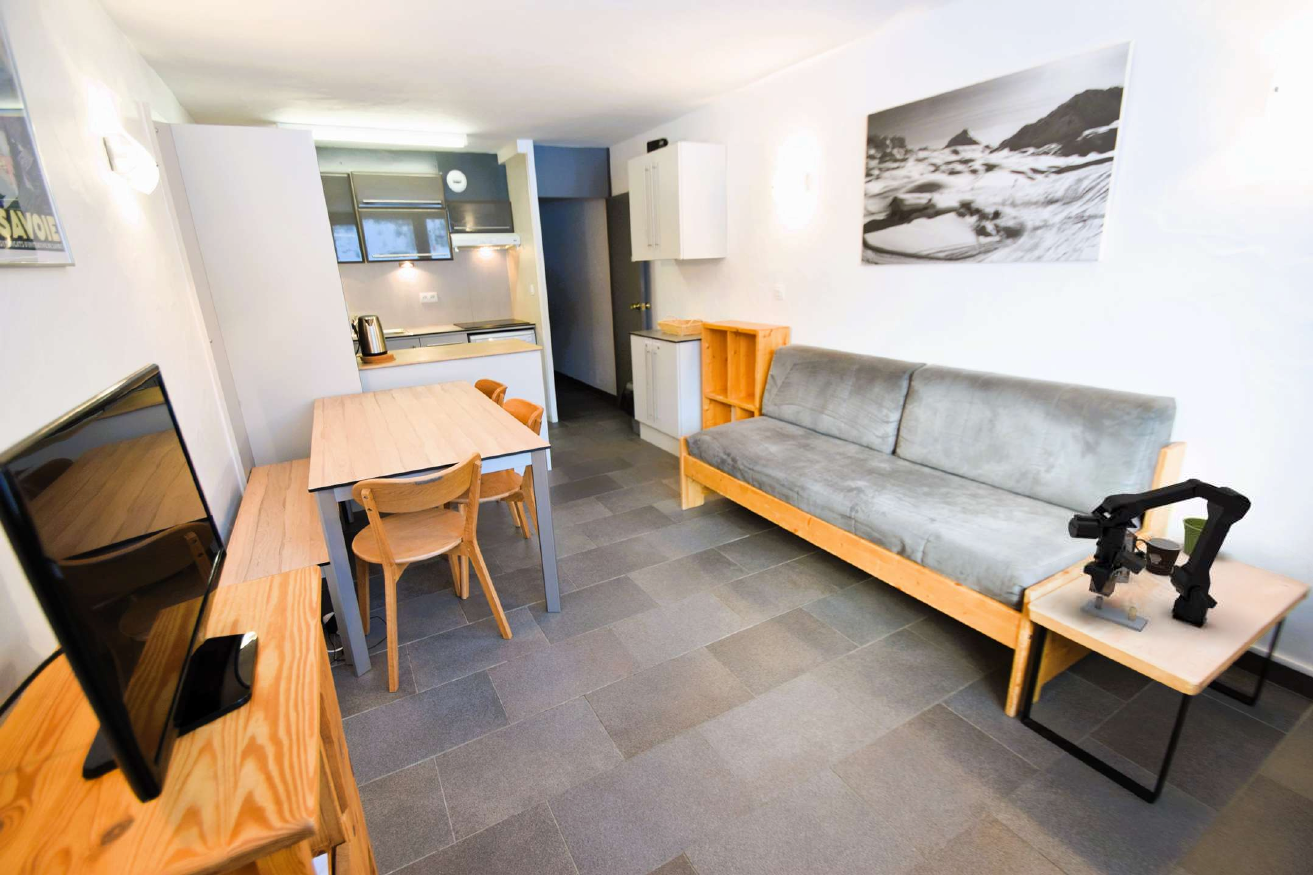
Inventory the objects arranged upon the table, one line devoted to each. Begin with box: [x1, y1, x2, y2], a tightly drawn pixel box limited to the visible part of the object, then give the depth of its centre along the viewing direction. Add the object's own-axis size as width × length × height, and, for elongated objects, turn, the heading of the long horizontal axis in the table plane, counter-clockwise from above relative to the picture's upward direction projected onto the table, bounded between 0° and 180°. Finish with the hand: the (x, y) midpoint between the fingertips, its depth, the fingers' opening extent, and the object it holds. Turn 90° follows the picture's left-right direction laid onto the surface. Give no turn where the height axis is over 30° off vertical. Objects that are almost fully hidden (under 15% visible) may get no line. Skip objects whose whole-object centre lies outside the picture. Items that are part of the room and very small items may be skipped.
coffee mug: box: [1135, 537, 1183, 577], centre depth 191 cm, size 12×9×10 cm
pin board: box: [1080, 595, 1149, 633], centre depth 168 cm, size 14×7×4 cm, turn 38°
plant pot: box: [1182, 517, 1231, 556], centre depth 198 cm, size 12×12×11 cm
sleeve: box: [1088, 576, 1117, 598], centre depth 169 cm, size 5×5×5 cm
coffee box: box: [1093, 528, 1139, 584], centre depth 188 cm, size 9×6×16 cm
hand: (1102, 588), depth 170 cm, fingers closed on sleeve, 5 cm apart
